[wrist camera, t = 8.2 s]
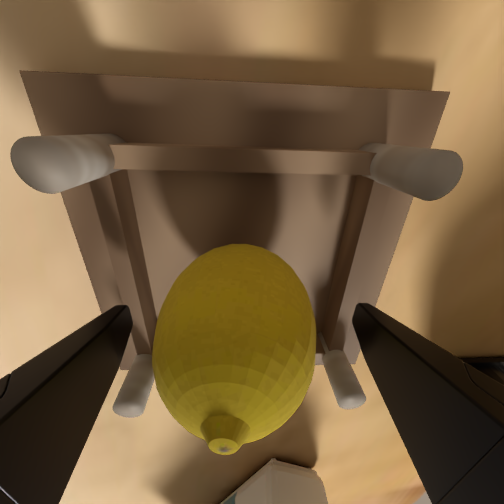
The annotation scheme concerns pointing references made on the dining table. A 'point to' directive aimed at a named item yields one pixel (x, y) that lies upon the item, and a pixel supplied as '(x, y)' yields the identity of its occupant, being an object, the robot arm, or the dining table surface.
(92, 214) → the cradle tray
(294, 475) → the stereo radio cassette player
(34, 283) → the dining table surface
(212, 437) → the lemon
